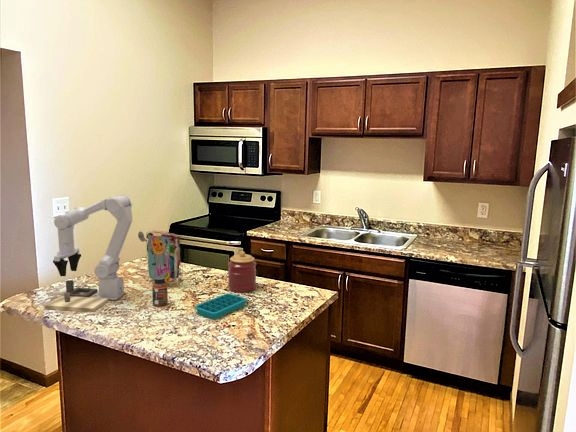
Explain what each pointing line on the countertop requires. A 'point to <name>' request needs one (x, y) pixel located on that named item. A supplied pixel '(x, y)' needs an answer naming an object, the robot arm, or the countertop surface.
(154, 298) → the supplement bottle
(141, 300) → the countertop surface
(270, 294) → the countertop surface
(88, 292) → the dark grey frame stand
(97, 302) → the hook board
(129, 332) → the countertop surface
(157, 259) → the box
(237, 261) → the canister
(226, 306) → the ice cube tray
